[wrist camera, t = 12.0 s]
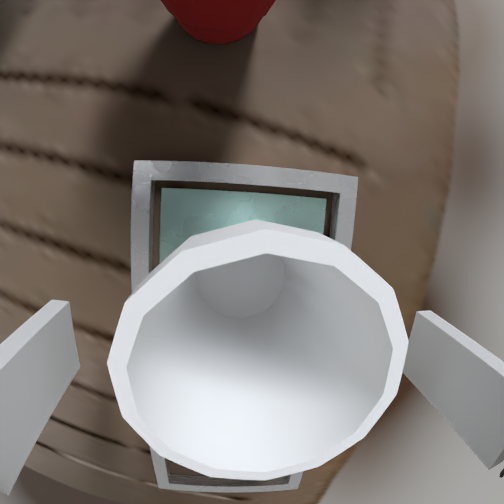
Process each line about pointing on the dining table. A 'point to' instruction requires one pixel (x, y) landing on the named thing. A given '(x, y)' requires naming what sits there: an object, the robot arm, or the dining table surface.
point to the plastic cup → (218, 18)
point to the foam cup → (257, 352)
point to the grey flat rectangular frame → (219, 216)
